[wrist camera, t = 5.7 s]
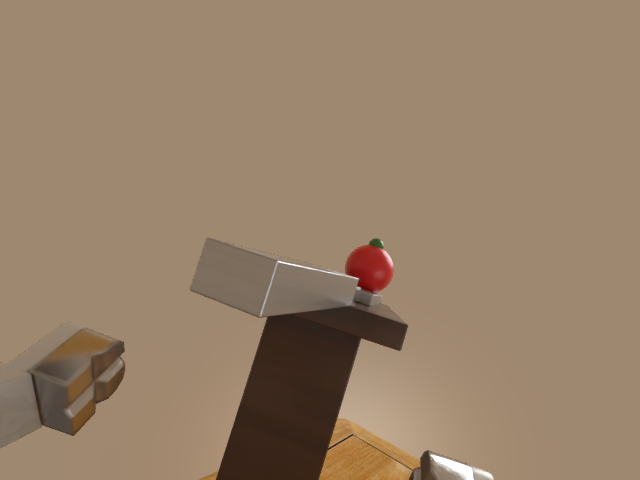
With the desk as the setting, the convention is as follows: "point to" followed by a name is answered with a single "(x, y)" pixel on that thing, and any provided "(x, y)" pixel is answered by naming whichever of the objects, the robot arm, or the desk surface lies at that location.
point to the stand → (301, 390)
